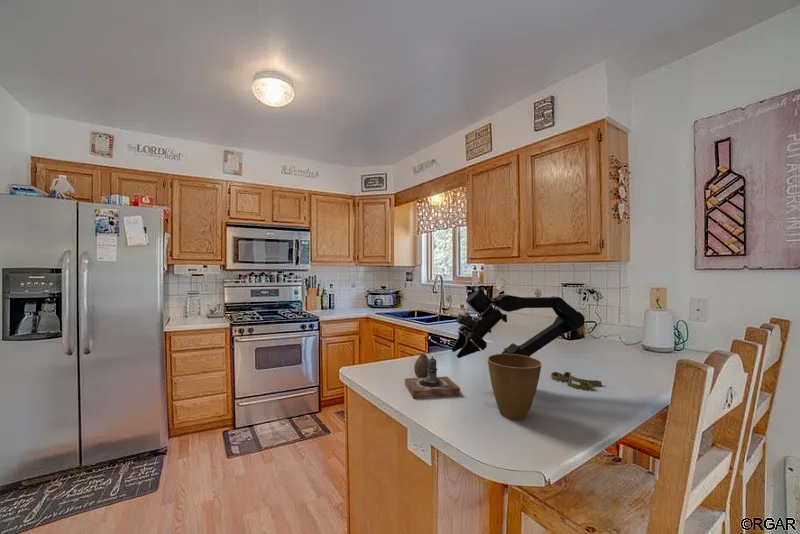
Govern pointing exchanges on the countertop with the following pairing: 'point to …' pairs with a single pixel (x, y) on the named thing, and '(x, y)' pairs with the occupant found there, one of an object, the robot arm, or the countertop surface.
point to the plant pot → (514, 383)
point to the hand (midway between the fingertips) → (454, 354)
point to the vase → (421, 366)
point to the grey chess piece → (432, 374)
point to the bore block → (431, 388)
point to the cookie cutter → (583, 383)
